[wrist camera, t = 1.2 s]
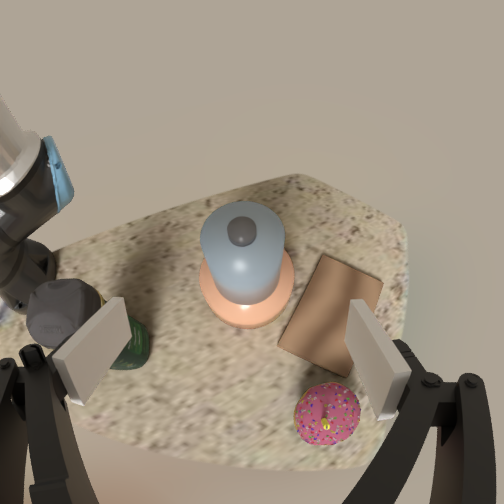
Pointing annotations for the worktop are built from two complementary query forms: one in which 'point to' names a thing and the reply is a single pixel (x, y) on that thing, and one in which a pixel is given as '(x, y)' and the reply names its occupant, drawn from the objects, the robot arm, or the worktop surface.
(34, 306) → the coffee jar
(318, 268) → the mat
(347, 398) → the cupcake
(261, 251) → the blue-grey knobbed jar
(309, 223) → the worktop surface
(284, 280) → the peach round dome
